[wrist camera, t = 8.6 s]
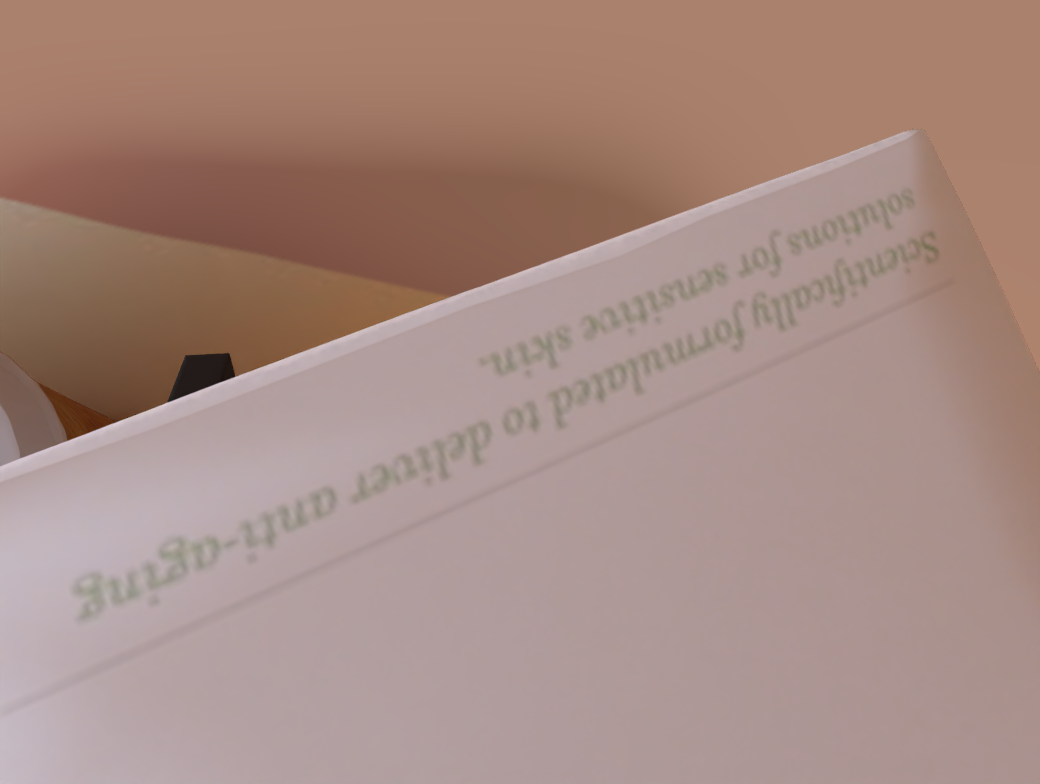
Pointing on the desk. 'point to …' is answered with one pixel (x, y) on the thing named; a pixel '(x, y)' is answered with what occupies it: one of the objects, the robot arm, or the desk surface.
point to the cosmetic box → (571, 526)
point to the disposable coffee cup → (37, 415)
